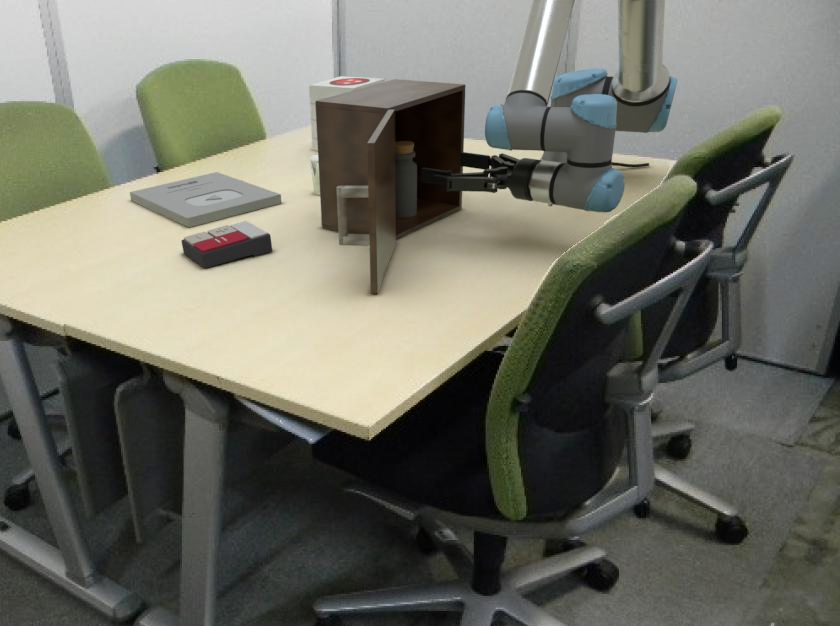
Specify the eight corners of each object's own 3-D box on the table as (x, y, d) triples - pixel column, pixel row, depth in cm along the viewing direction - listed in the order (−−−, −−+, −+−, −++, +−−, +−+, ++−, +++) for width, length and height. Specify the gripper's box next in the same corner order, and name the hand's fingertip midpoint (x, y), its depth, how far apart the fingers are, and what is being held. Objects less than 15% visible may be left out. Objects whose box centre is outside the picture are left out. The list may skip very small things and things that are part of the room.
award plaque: (217, 180, 221) (216, 171, 220) (281, 203, 199) (280, 194, 198) (131, 200, 209) (129, 191, 208) (188, 227, 187) (187, 218, 186)
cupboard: (461, 209, 186) (465, 84, 173) (389, 243, 170) (387, 108, 157) (395, 197, 197) (394, 79, 184) (321, 228, 181) (315, 100, 168)
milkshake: (331, 189, 207) (329, 147, 202) (329, 195, 202) (327, 152, 197) (312, 189, 207) (310, 148, 202) (310, 196, 203) (308, 153, 198)
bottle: (399, 220, 179) (398, 148, 172) (384, 213, 184) (383, 143, 176) (422, 215, 181) (422, 143, 174) (406, 208, 186) (406, 138, 179)
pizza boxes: (362, 168, 222) (360, 96, 213) (303, 149, 244) (298, 83, 236) (421, 155, 230) (421, 85, 221) (358, 137, 252) (356, 73, 244)
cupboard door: (337, 292, 149) (331, 143, 136) (361, 243, 171) (357, 110, 158) (377, 293, 148) (374, 142, 135) (395, 243, 170) (394, 109, 157)
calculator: (179, 236, 171) (246, 217, 176) (183, 256, 173) (249, 237, 179) (201, 251, 162) (270, 230, 168) (204, 272, 165) (273, 251, 170)
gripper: (501, 218, 152) (405, 201, 165) (568, 184, 168) (475, 170, 181) (503, 176, 149) (404, 162, 162) (571, 145, 164) (477, 134, 177)
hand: (442, 166), depth 171 cm, fingers open, 13 cm apart
